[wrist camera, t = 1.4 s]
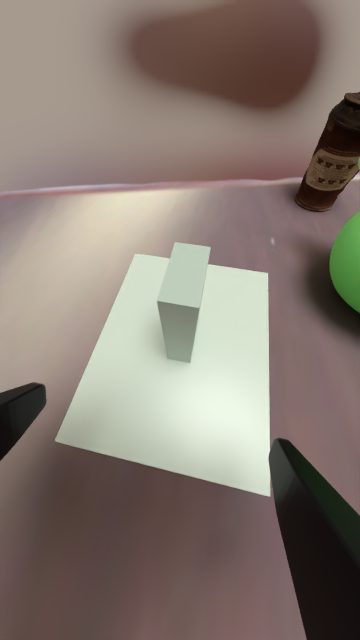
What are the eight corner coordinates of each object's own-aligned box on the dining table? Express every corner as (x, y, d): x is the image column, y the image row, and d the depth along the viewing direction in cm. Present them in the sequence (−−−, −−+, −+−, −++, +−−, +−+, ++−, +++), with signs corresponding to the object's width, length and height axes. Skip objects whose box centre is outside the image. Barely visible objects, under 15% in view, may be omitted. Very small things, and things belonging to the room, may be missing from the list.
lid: (67, 439, 16) (-107, 462, 6) (138, 264, 25) (112, 163, 15) (260, 488, 14) (420, 617, 5) (261, 283, 23) (318, 184, 14)
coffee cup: (333, 223, 33) (414, 115, 22) (283, 208, 35) (334, 102, 23) (340, 196, 37) (413, 92, 25) (295, 184, 39) (344, 83, 27)
